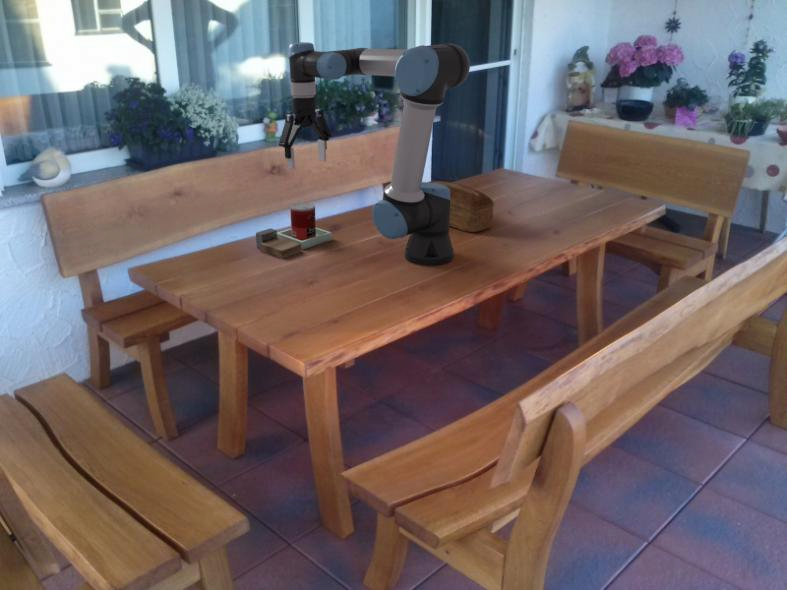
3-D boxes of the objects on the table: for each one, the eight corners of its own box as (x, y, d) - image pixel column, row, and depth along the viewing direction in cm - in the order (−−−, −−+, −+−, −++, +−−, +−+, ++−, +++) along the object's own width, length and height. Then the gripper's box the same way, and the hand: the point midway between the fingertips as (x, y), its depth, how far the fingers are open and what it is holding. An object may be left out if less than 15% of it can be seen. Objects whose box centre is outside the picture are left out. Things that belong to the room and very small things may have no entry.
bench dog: (277, 245, 241) (276, 230, 239) (262, 249, 237) (261, 234, 235) (271, 242, 243) (270, 228, 241) (256, 247, 239) (255, 232, 237)
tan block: (301, 253, 236) (300, 244, 235) (282, 260, 230) (282, 250, 229) (279, 245, 242) (278, 237, 241) (260, 252, 236) (259, 243, 235)
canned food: (312, 243, 241) (311, 210, 237) (288, 241, 243) (286, 208, 238) (319, 235, 248) (318, 203, 244) (295, 233, 250) (294, 201, 245)
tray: (331, 239, 246) (331, 232, 245) (302, 249, 237) (301, 242, 236) (305, 230, 254) (305, 223, 253) (275, 240, 245) (275, 233, 244)
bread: (475, 237, 250) (477, 197, 245) (409, 216, 270) (409, 179, 265) (497, 228, 258) (500, 190, 253) (432, 209, 278) (433, 173, 273)
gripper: (324, 90, 240) (326, 156, 249) (264, 99, 223) (269, 170, 231) (340, 92, 236) (342, 159, 244) (281, 102, 218) (285, 173, 227)
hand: (307, 164), depth 238 cm, fingers open, 13 cm apart
